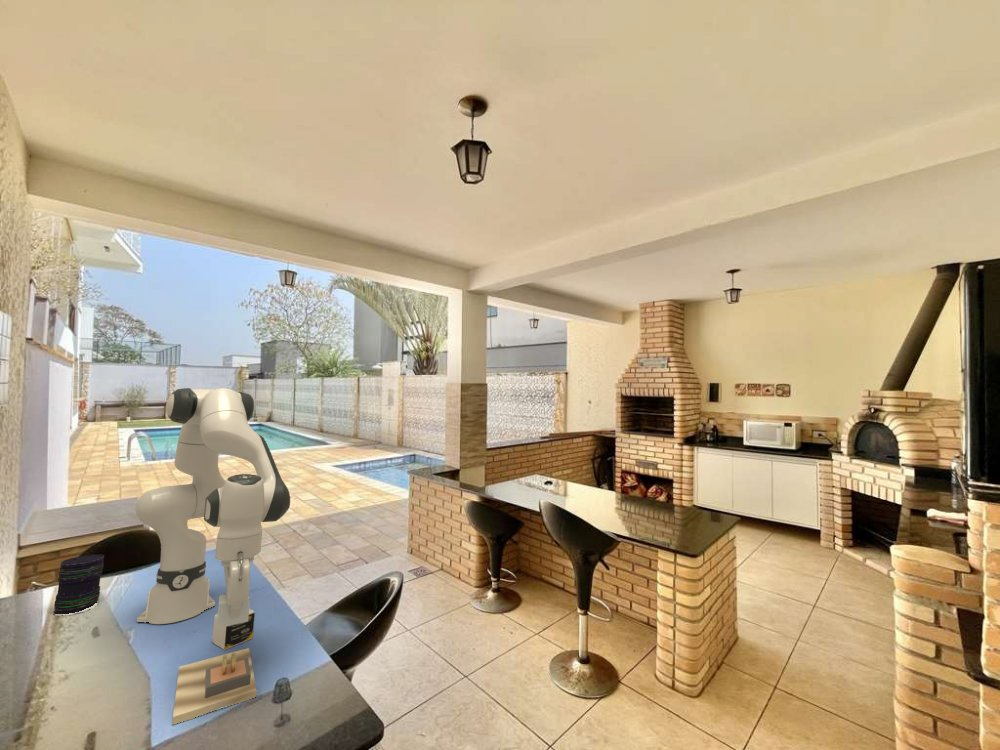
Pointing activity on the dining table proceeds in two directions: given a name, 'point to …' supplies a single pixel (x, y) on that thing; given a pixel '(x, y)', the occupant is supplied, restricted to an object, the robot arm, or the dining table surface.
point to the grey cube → (224, 611)
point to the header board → (196, 689)
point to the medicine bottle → (233, 632)
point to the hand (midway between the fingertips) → (233, 610)
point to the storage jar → (78, 583)
